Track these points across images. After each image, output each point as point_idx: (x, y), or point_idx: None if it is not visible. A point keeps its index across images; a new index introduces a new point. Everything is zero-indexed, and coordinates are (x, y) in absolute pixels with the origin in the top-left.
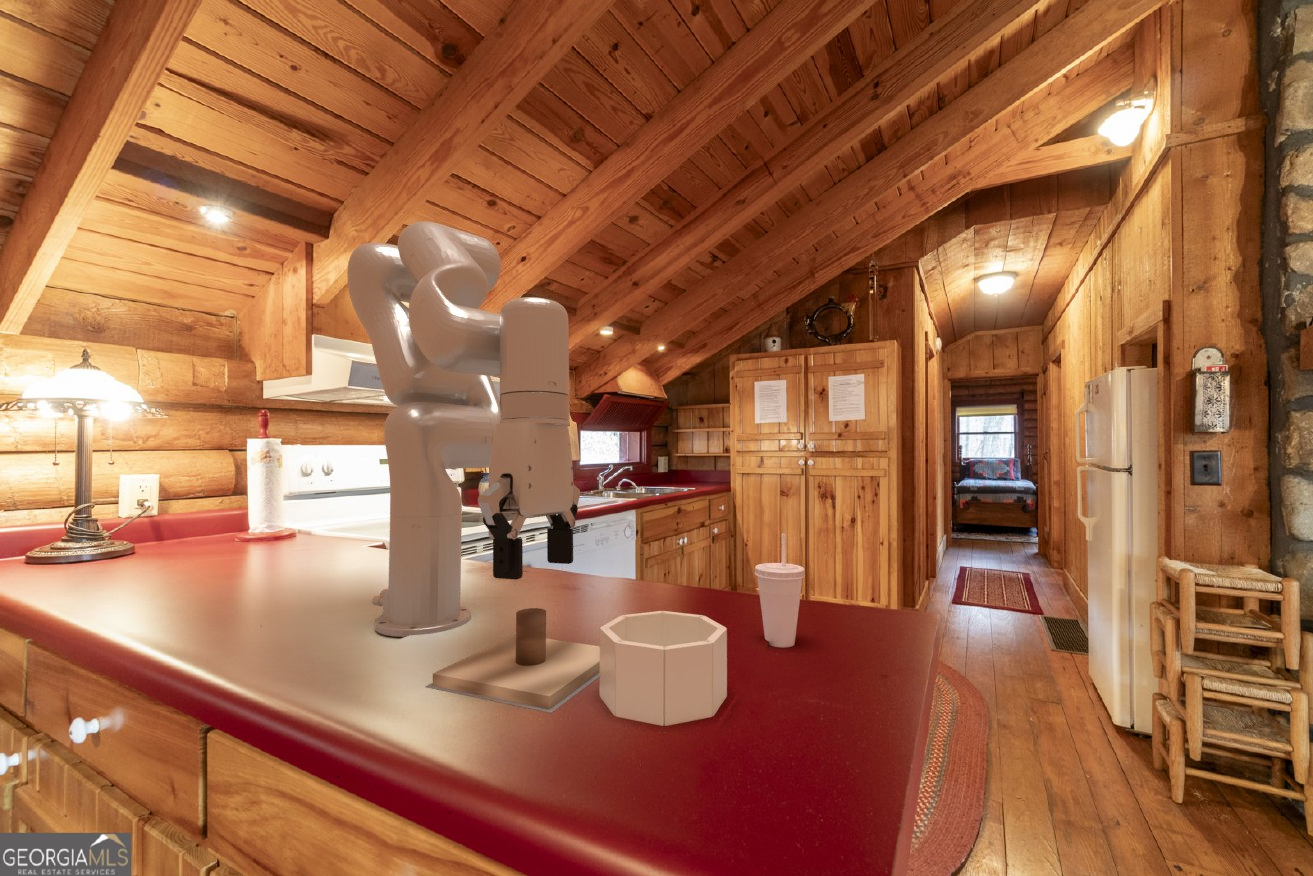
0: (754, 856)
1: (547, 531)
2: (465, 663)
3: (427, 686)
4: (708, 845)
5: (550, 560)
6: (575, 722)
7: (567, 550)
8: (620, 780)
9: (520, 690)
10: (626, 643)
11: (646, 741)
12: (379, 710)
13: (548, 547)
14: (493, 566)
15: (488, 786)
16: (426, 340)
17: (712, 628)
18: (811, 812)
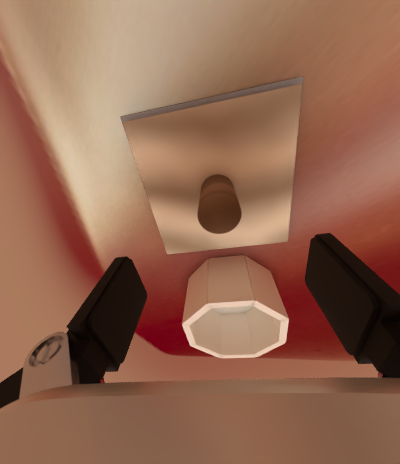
0: (145, 337)
1: (371, 299)
2: (167, 129)
3: (122, 119)
4: (139, 329)
5: (312, 245)
6: (173, 262)
7: (318, 301)
8: (146, 301)
9: (159, 231)
10: (185, 329)
11: (181, 297)
12: (70, 117)
13: (332, 262)
14: (107, 270)
15: (99, 266)
16: None
17: (260, 347)
18: (175, 343)
